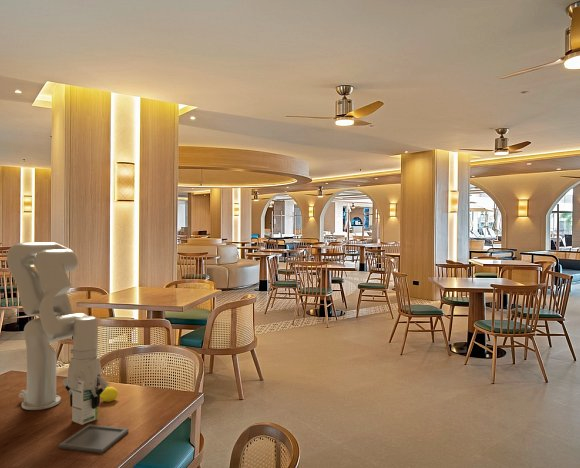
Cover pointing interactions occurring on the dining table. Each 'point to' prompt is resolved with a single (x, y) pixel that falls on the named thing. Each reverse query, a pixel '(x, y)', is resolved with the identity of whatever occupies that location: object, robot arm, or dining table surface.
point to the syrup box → (82, 405)
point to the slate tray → (94, 438)
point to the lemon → (109, 394)
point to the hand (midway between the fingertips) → (84, 405)
